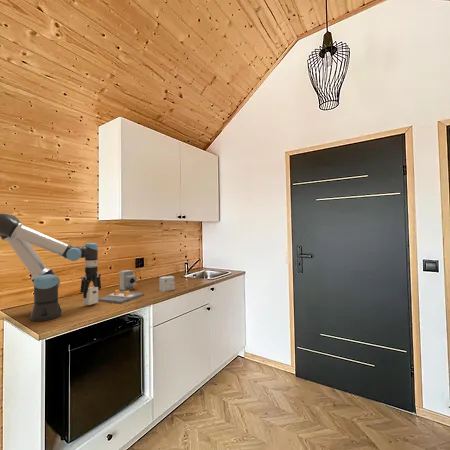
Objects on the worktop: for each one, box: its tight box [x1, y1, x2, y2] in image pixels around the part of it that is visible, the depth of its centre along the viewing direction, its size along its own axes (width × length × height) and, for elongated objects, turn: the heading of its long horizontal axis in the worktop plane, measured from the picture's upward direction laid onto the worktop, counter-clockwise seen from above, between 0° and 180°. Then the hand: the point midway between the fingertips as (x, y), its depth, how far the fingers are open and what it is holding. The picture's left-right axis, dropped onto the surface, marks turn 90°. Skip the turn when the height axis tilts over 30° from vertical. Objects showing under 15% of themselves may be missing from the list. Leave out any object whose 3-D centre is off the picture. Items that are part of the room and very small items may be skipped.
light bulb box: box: [158, 275, 175, 293], centre depth 221 cm, size 11×7×11 cm, turn 141°
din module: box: [83, 286, 99, 306], centre depth 180 cm, size 7×6×10 cm
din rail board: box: [98, 289, 145, 305], centre depth 197 cm, size 24×20×5 cm
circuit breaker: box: [118, 269, 137, 291], centre depth 225 cm, size 8×14×15 cm, turn 53°
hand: (91, 301), depth 180 cm, fingers closed on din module, 7 cm apart
